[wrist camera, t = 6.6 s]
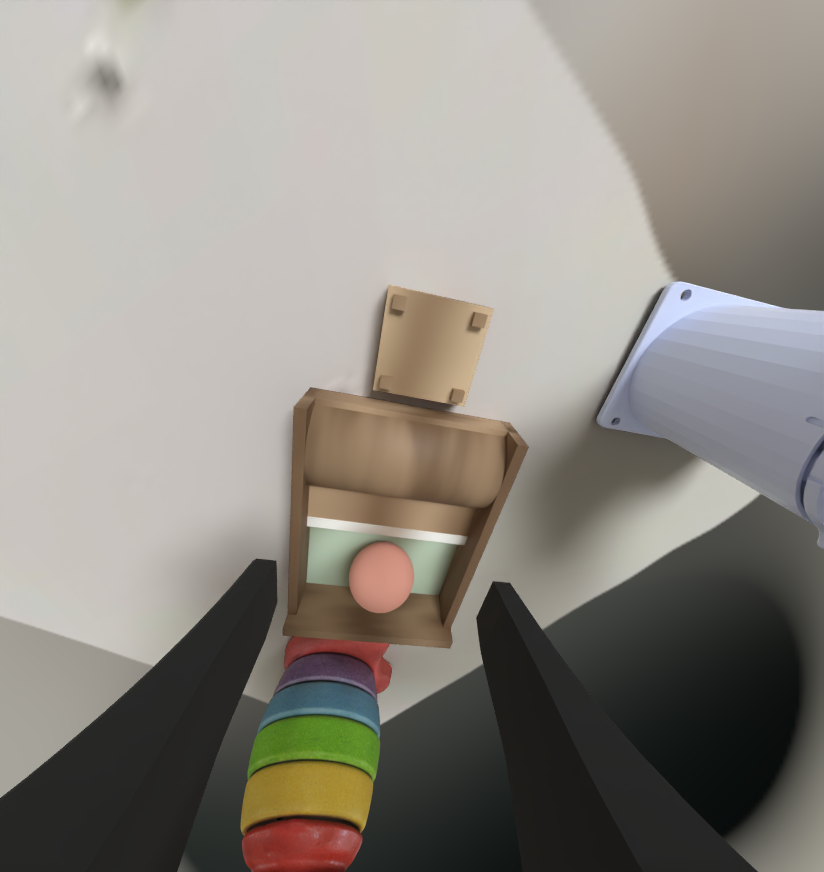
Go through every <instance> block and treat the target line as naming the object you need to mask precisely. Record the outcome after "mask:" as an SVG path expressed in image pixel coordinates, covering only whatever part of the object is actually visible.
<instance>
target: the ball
mask: <svg viewBox="0 0 824 872" xmlns="http://www.w3.org/2000/svg"><path fill="white" fill-rule="evenodd" d="M413 582H414V569H413V565H412V562H411V560H410V558H409V556H408V555H407V553H406V552H405V551H404V550H403V549H402V548H401V547H399V546H398V545H396V544H393V543H390V542H384V541H382V542H375V543H372V544H370V545H368V546H366V547H365V548H363V549H362V550H361V551H360V552H359V553H358V554H357V556H356V557H355V558H354V560H353V562H352V565H351V567H350V572H349V586H350V590H351V593H352V595H353V597H354V599H355V600H356V602H357V603H358V604H359V605H360V606H361V607H363V608H364V609H366V610H368V611H370V612H374V613H387V612H390V611H393V610H395V609H396V608H398V607H399V606H401V605H402V604H403V603H404V602H405V600H406V599H407V598H408V596H409V594H410V592H411V590H412V587H413Z"/></svg>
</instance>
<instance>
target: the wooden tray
mask: <svg viewBox="0 0 824 872" xmlns="http://www.w3.org/2000/svg"><path fill="white" fill-rule="evenodd" d="M528 448H529V447H528V445H527V444H526V443H525V441H524V440H523V439H522V438H521V436H520V435H519V434H518V433H517V431H516V430H515V429H514V428H513V426H512V425H511V424H510V423H508V422H502V421H497V420H491V419H486V418H480V417H474V416H469V415H463V414H457V413H452V412H446V411H441V410H435V409H429V408H424V407H418V406H413V405H407V404H401V403H396V402H390V401H384V400H379V399H373V398H368V397H362V396H356V395H351V394H345V393H340V392H334V391H328V390H323V389H317V388H312V387H311V388H310V389H309V390H308V391H307V392H306V393H305V395H304V396H303V397H302V398H301V399H300V401H299V402H298V403H297V404H296V405H295V406H294V419H293V452H292V486H291V519H290V553H289V586H288V615H287V618H286V621H285V624H284V627H283V636H295V637H308V638H321V639H334V640H347V641H360V642H373V643H387V644H400V645H413V646H426V647H439V648H450V647H451V645H452V642H453V641H452V635H451V626H452V624H453V621H454V619H455V617H456V614H457V612H458V610H459V607H460V605H461V603H462V600H463V598H464V596H465V593H466V591H467V589H468V586H469V584H470V582H471V580H472V577H473V575H474V573H475V570H476V568H477V566H478V563H479V561H480V559H481V556H482V554H483V552H484V549H485V547H486V545H487V543H488V540H489V538H490V536H491V533H492V531H493V529H494V526H495V524H496V522H497V519H498V517H499V515H500V512H501V510H502V508H503V505H504V503H505V501H506V499H507V496H508V494H509V492H510V489H511V487H512V485H513V482H514V480H515V478H516V475H517V473H518V471H519V468H520V466H521V464H522V461H523V459H524V457H525V455H526V452H527V450H528ZM382 541H384V542H390V543H393V544H396V545H398V546H399V547H401V548H402V549H403V550H404V551H405V552H406V553H407V555H408V556H409V558H410V560H411V562H412V565H413V569H414V582H413V587H412V590H411V592H410V594H409V596H408V598H407V599H406V600H405V602H404V603H403V604H402V605H401V606H399V607H398V608H396V609H395V610H393V611H390V612H387V613H374V612H370V611H368V610H366V609H364V608H363V607H361V606H360V605H359V604H358V603H357V602H356V600H355V599H354V597H353V595H352V593H351V590H350V586H349V572H350V567H351V565H352V562H353V560H354V558H355V557H356V556H357V554H358V553H359V552H360V551H361V550H362V549H363V548H365V547H366V546H368V545H370V544H372V543H375V542H382Z"/></svg>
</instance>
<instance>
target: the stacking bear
mask: <svg viewBox="0 0 824 872" xmlns="http://www.w3.org/2000/svg"><path fill="white" fill-rule="evenodd" d="M388 646H389V644H387V643H373V642H360V641H347V640H334V639H321V638H308V637H295V636H294V637H293V638H292V639H291V640H290V641H289V643H288V645H287V647H286V651H285V658H284V667H285V672H284V674H283V676H282V678H281V680H280V682H279V684H278V686H277V688H276V690H275V692H274V695H273V698H272V699H271V701H270V702H269V704H268V707H267V709H266V711H265V713H264V716H263V718H262V721H261V723H260V726H259V729H258V735H257V736H256V738H255V741H254V745H253V750H252V753H251V758H250V763H249V768H248V780H249V781H248V783H247V785H246V789H245V795H244V801H243V808H242V816H241V831H242V833H243V835H244V838H243V841H242V847H243V854H244V859H245V862H246V864H247V866H248V867H249V868H250V869H251V871H252V872H346V868H347V867H348V866H349V865H350V864H351V863H352V861H353V860H354V858H355V856H356V854H357V852H358V850H359V848H360V846H361V843H362V835H361V832H362V831H363V829H364V827H365V824H366V821H367V816H368V812H369V808H370V802H371V797H372V791H373V781H374V779H375V777H376V772H377V765H378V759H379V751H380V741H379V737H380V717H379V707H378V704H377V694H378V693H380V692H382V691H384V690H385V689H386V688H387V687H388V686H389V683H390V678H391V673H392V668H391V666H390V664H389V663H388V662H386V661H385V660H384V659H383V657H382V656H383V654H384V653H385V652H386V650H387V648H388Z"/></svg>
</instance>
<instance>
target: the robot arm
mask: <svg viewBox="0 0 824 872" xmlns="http://www.w3.org/2000/svg"><path fill="white" fill-rule="evenodd" d="M683 291H685V295H684V297H683V298H682V299H681V294H682V293H683ZM614 418H616V420H615V421H614V422H612V420H613V419H614ZM596 420H597V423H598V424H599V425H600V426H602V427H605V428H610V429H616V430H621V431H627V432H632V433H638V434H643V435H649V436H654V437H659V438H665V439H668V440H670V441H672V442H673V443H675V444H677V445H679V446H680V447H682V448H684V449H685V450H687V451H689V452H691V453H692V454H694V455H696V456H697V457H699V458H701V459H703V460H704V461H706V462H708V463H709V464H711V465H713V466H715V467H716V468H718V469H720V470H721V471H723V472H725V473H727V474H728V475H730V476H732V477H733V478H735V479H737V480H739V481H740V482H742V483H744V484H745V485H747V486H749V487H751V488H752V489H754V490H756V491H757V492H759V493H761V494H763V495H764V496H766V497H768V498H770V499H771V500H773V501H775V502H776V503H778V504H780V505H782V506H783V507H785V508H787V509H788V510H790V511H792V512H794V513H795V514H797V515H799V516H801V517H802V518H804V519H806V520H808V521H809V522H811V523H812V524H814V525H816V527H817V528H818V529H819V532H820V533H819V539H818V542H817V545H818V546H820V547H821V548H823V549H824V311H812V310H798V309H785V308H781V307H777V306H773V305H770V304H766V303H762V302H758V301H754V300H750V299H747V298H742V297H739V296H735V295H731V294H727V293H723V292H719V291H716V290H712V289H708V288H704V287H700V286H697V285H693V284H689V283H685V282H672V283H670V284H668V285H667V286H666V287H665V289H664V290H663V292H662V294H661V295H660V297H659V299H658V301H657V303H656V305H655V307H654V309H653V311H652V313H651V315H650V317H649V318H648V320H647V322H646V324H645V326H644V328H643V330H642V332H641V334H640V336H639V338H638V340H637V341H636V343H635V345H634V347H633V349H632V351H631V353H630V355H629V357H628V359H627V361H626V363H625V364H624V366H623V368H622V370H621V372H620V374H619V376H618V378H617V380H616V382H615V384H614V386H613V387H612V389H611V391H610V393H609V395H608V397H607V399H606V401H605V403H604V405H603V407H602V409H601V410H600V412H599V414H598V416H597V419H596ZM611 422H612V423H611ZM276 605H277V567H276V561H274V560H263V559H255V560H254V561H252V563H251V564H250V565H249V566H248V567H247V569H246V570H245V571H244V572H243V573H242V575H241V576H240V577H239V578H238V579H237V581H236V582H235V583H234V584H233V585H232V586H231V587H230V589H229V590H228V591H227V592H226V593H225V594H224V595H223V596H222V597H221V599H220V600H219V601H218V602H217V603H216V604H215V605H214V606H213V607H212V608H211V609H210V610H209V611H208V613H207V614H206V615H205V616H204V617H203V618H202V619H201V620H200V621H199V622H198V623H197V624H196V625H195V626H194V627H193V628H192V629H191V630H190V631H189V633H188V634H187V635H186V636H185V637H184V638H183V639H182V640H181V641H179V642H178V643H177V644H176V645H175V646H174V647H173V648H172V649H171V650H170V651H169V652H168V653H167V654H166V655H165V656H164V657H163V658H162V659H161V660H160V661H159V662H158V663H157V664H156V665H155V666H154V667H153V668H152V669H151V670H150V671H149V672H148V673H147V674H146V675H145V676H143V678H141V679H140V680H139V681H138V682H137V683H136V684H135V685H134V686H133V687H132V688H130V689H129V690H128V691H127V692H126V693H125V694H124V695H123V696H122V697H121V698H119V699H118V700H117V701H116V702H115V703H114V704H113V705H112V706H110V707H109V708H108V709H107V710H106V711H105V712H104V713H103V714H101V716H99V717H98V718H97V719H96V720H94V721H93V722H92V723H91V724H90V725H89V726H88V727H86V728H85V729H84V730H83V731H82V732H81V733H79V734H78V735H77V736H76V737H75V738H73V739H72V740H71V741H70V742H69V743H68V744H66V745H65V746H64V747H63V748H62V749H60V751H58V752H57V753H56V754H54V755H53V756H52V757H51V758H50V759H48V761H46V762H45V763H44V764H42V765H41V766H40V767H39V768H38V769H36V770H35V771H34V772H33V773H32V774H30V775H29V776H28V777H27V778H25V779H24V780H23V781H21V782H20V783H19V784H18V785H17V786H15V787H14V788H13V789H11V790H10V791H9V792H7V793H6V794H5V795H4V796H2V797H1V798H0V872H177V871H178V867H179V865H180V861H181V858H182V855H183V853H184V850H185V847H186V844H187V841H188V838H189V835H190V832H191V829H192V826H193V823H194V820H195V817H196V814H197V811H198V808H199V805H200V802H201V799H202V797H203V794H204V791H205V788H206V785H207V782H208V779H209V777H210V773H211V771H212V768H213V765H214V762H215V759H216V756H217V754H218V751H219V748H220V746H221V743H222V741H223V738H224V735H225V733H226V731H227V728H228V726H229V723H230V721H231V719H232V716H233V714H234V712H235V709H236V707H237V705H238V702H239V700H240V698H241V695H242V693H243V691H244V688H245V686H246V684H247V681H248V679H249V677H250V674H251V672H252V670H253V667H254V665H255V663H256V660H257V658H258V655H259V653H260V651H261V648H262V646H263V644H264V641H265V639H266V636H267V633H268V630H269V627H270V624H271V621H272V617H273V614H274V611H275V608H276ZM476 619H477V627H478V635H479V642H480V649H481V655H482V659H483V664H484V668H485V672H486V676H487V681H488V685H489V688H490V693H491V697H492V701H493V706H494V709H495V714H496V718H497V722H498V726H499V730H500V734H501V739H502V743H503V748H504V753H505V758H506V764H507V770H508V776H509V782H510V788H511V794H512V800H513V807H514V813H515V819H516V827H517V833H518V840H519V847H520V854H521V861H522V869H523V872H757V871H756V870H755V869H754V868H753V867H752V866H751V865H750V864H749V863H748V862H746V860H745V859H744V858H743V857H741V856H740V855H739V854H738V853H737V852H736V851H735V850H734V849H733V848H732V847H731V846H730V845H729V844H728V843H727V842H726V841H725V840H724V839H723V838H722V837H721V836H720V835H719V834H718V833H717V832H716V831H715V830H714V829H713V828H712V827H711V826H710V825H709V824H708V823H707V822H706V821H705V820H704V819H703V818H702V817H701V816H700V815H699V814H698V813H697V812H696V811H695V810H694V809H693V808H692V807H691V806H690V805H689V804H688V803H687V802H686V801H685V800H684V799H683V798H682V797H681V796H680V795H679V794H678V793H677V792H676V791H675V790H674V788H673V787H672V786H671V785H670V784H669V783H668V782H667V781H666V780H665V779H664V778H663V777H662V776H661V775H660V774H659V773H658V772H657V771H656V769H655V768H654V767H653V766H652V765H651V764H650V763H649V762H648V761H647V760H646V759H645V758H644V757H643V756H642V755H641V754H640V752H639V751H638V750H637V749H636V748H635V747H634V746H633V744H632V743H631V742H630V741H629V740H628V739H627V738H626V737H625V735H624V734H623V733H622V732H621V731H620V730H619V728H618V727H617V726H616V725H615V724H614V723H613V721H612V720H611V719H610V718H609V717H608V716H607V714H606V713H605V712H604V711H603V710H602V708H601V707H600V706H599V705H598V704H597V703H596V701H595V700H594V699H593V697H592V696H591V695H590V694H589V692H588V691H587V690H586V689H585V687H584V686H583V685H582V683H581V682H580V681H579V680H578V678H577V677H576V676H575V675H574V673H573V672H572V670H571V669H570V668H569V667H568V665H567V664H566V663H565V661H564V660H563V658H562V657H561V656H560V654H559V653H558V652H557V650H556V649H555V647H554V646H553V645H552V643H551V642H550V640H549V639H548V638H547V637H546V635H545V634H544V632H543V631H542V629H541V628H540V626H539V625H538V623H537V622H536V620H535V619H534V618H533V616H532V615H531V613H530V612H529V610H528V609H527V607H526V606H525V604H524V603H523V601H522V600H521V598H520V597H519V596H518V594H517V593H516V591H515V590H514V588H513V587H512V585H511V584H510V583H505V582H494V581H493V583H492V585H491V587H490V589H489V591H488V594H487V596H486V598H485V600H484V602H483V605H482V607H481V609H480V611H479V613H478V615H477V618H476Z"/></svg>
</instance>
